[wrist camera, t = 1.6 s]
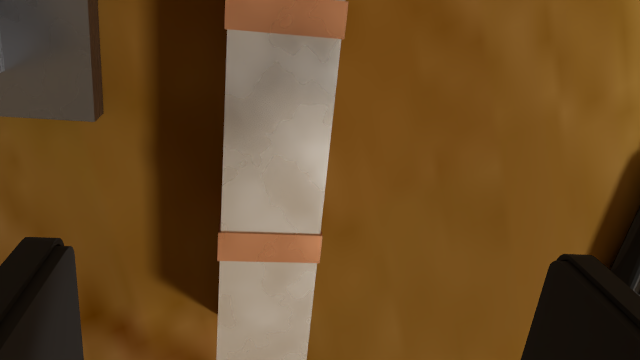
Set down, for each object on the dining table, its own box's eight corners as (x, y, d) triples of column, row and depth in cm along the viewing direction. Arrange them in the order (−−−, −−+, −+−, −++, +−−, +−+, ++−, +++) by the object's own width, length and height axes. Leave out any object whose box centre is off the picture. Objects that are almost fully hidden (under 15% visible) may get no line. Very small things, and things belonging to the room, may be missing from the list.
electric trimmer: (540, 360, 35) (567, 397, 32) (650, 144, 29) (694, 163, 26) (588, 367, 35) (619, 403, 33) (704, 157, 30) (752, 178, 27)
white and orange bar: (299, 317, 30) (307, 372, 26) (219, 316, 30) (213, 373, 26) (347, -163, 22) (370, -195, 18) (235, -179, 21) (232, -217, 17)
